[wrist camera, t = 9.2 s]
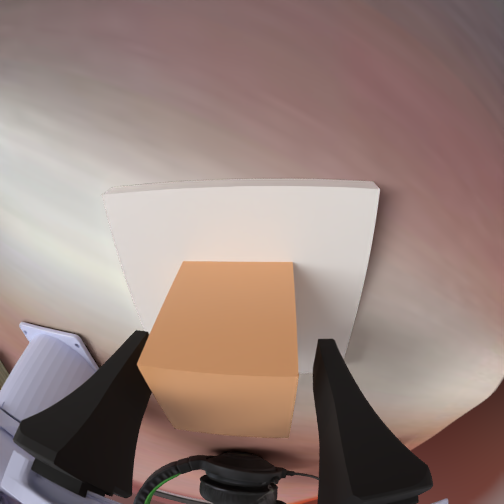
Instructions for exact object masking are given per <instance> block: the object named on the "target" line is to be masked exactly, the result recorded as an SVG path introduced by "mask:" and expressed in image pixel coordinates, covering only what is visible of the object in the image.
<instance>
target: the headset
mask: <svg viewBox="0 0 504 504" xmlns="http://www.w3.org/2000/svg"><path fill="white" fill-rule="evenodd" d="M198 469H202V470H205V471H206V474H207V475H204V476H202V477H201V478H200V481H201V483H200V494H201V496H202V497H203V498H204V499H205V500H207V501H209V502H211V503H213V504H286V503H285V502H282V501H279V500H277V489H278V487H277V486H276V485H275V484H278V482H279V480H280V479H281V478H286V475H290V476H293V475H301V476H308V477H312V478H315V479H317V480H319V478H318V477H316V476H313V475H308V474H303V473H295V472H294V471H287V470H286V469H284V468H280V467H275V466H273V465H271V464H270V463H269V462H267V461H265V460H264V459H262V458H261V457H258V456H257V455H254V454H249V453H241V452H228V453H224V454H222V455H218V456H203V455H196V456H190V457H189V458H184V459H181V460H178V461H175V462H172V463H169V464H167V465H165V466H163V467H161V468H159V469H158V470H156V471H155V472H154V473H153V474H152V475H151V476H150V477H149V478H148V479H147V480H146V481H145V483H144V484H143V486H142V487H141V489H140V490H139V492H138V494H137V496H136V497H135V500H134V504H150V501H151V499H152V496H153V494H154V493H155V491H156V490H157V489H158V488H159V487H160V486H162V485H163V484H164V483H166V482H167V481H169V480H171V479H173V478H175V477H177V476H179V475H180V474H184V473H187V472H190V471H192V470H198ZM272 482H273V483H272Z"/></svg>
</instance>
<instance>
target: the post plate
mask: <svg viewBox="0 0 504 504" xmlns="http://www.w3.org/2000/svg"><path fill="white" fill-rule="evenodd" d="M379 194H380V189H379V187H378V186H377V185H376V184H375V183H374V182H373V181H356V180H333V179H221V180H197V181H180V182H165V183H152V184H140V185H129V186H119V187H112V188H110V189H109V190H108V191H106V192H105V193H104V194H102V198H103V202H104V206H105V210H106V214H107V218H108V222H109V226H110V230H111V233H112V237H113V241H114V244H115V247H116V251H117V254H118V257H119V261H120V264H121V267H122V270H123V273H124V276H125V279H126V282H127V285H128V288H129V291H130V294H131V297H132V300H133V302H134V305H135V308H136V311H137V313H138V316H139V318H140V321H141V324H142V326H143V329H144V331H146V332H148V333H149V334H150V332H151V330H152V327H153V325H154V323H155V321H156V318H157V316H158V314H159V312H160V309H161V307H162V305H163V303H164V301H165V298H166V296H167V294H168V292H169V290H170V288H171V286H172V283H173V281H174V279H175V277H176V275H177V273H178V271H179V269H180V267H181V265H182V262H183V261H217V262H293V273H294V288H295V304H296V323H297V344H298V371H299V373H313V364H314V359H315V354H316V348H317V343H318V339H334V340H335V342H336V344H337V347H338V349H339V351H340V353H341V356H342V358H343V360H344V357H345V354H346V350H347V347H348V344H349V340H350V337H351V333H352V329H353V326H354V322H355V318H356V314H357V310H358V306H359V302H360V298H361V294H362V289H363V285H364V280H365V276H366V271H367V266H368V261H369V256H370V251H371V245H372V240H373V234H374V228H375V222H376V215H377V209H378V201H379Z"/></svg>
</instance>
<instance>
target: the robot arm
mask: <svg viewBox="0 0 504 504" xmlns="http://www.w3.org/2000/svg"><path fill="white" fill-rule="evenodd" d="M20 328H21V330H22V331H23V333H24V334H25V336H26V337H27V339H28V340H29V342H30V343H29V345H28V346H27V348H26V349H25V351H24V352H23V354H22V355H21V357H20V358H19V360H18V362H17V363H16V365H15V366H14V368H13V370H12V371H11V373H10V375H9V376H8V378H7V380H6V381H5V383H4V385H3V386H2V388H1V390H0V504H122V503H119V502H116V501H113V500H111V499H108V498H105V497H104V496H105V494H106V495H109V496H113V494H115V495H118V496H120V497H124V498H128V497H130V496H131V495H132V477H133V466H134V457H135V450H136V444H137V439H138V434H139V429H140V425H141V421H142V418H143V415H144V412H145V409H146V407H147V404H148V401H149V398H150V395H151V392H152V391H151V390H150V388H149V386H148V384H147V383H146V381H145V379H144V377H143V375H142V373H141V372H140V370H139V368H138V366H137V363H138V360H139V358H140V355H141V353H142V351H143V348H144V346H145V344H146V341H147V339H148V337H149V333H148V332H146V331H138V330H136V331H135V332H134V333H133V334H132V335H131V336H130V337H129V338H128V339H127V340H126V341H125V342H124V343H123V345H122V346H121V347H120V348H119V349H118V350H117V351H116V352H115V353H114V354H113V355H112V356H111V357H110V358H109V359H108V360H107V361H106V362H105V364H104V365H103V366H102V367H101V368H99V367H98V366H97V364H96V363H95V361H94V360H93V358H92V356H91V355H90V353H89V351H88V350H87V348H86V346H85V345H84V343H83V341H82V340H81V338H80V337H79V336H78V335H76V334H72V333H67V332H62V331H58V330H53V329H49V328H45V327H41V326H37V325H33V324H29V323H25V322H21V323H20ZM313 392H314V400H315V407H316V415H317V423H318V431H319V443H320V460H319V490H318V504H416V503H418V495H420V494H422V493H424V492H426V491H428V490H429V489H431V488H432V486H433V481H432V476H431V473H430V470H429V468H428V466H427V465H426V464H425V463H424V462H423V461H421V460H420V459H419V458H418V457H417V456H415V455H414V454H413V453H412V452H411V451H410V450H409V449H408V448H407V447H406V446H405V445H403V444H402V443H401V442H400V440H399V439H398V438H397V437H396V436H395V435H394V434H393V433H392V432H391V431H390V430H389V429H388V428H387V426H386V425H385V424H384V423H383V421H382V420H381V419H380V418H379V416H378V415H377V414H376V413H375V411H374V410H373V408H372V407H371V406H370V404H369V403H368V401H367V400H366V398H365V397H364V395H363V394H362V392H361V391H360V389H359V387H358V386H357V384H356V382H355V380H354V379H353V377H352V375H351V373H350V371H349V370H348V368H347V366H346V364H345V362H344V360H343V358H342V356H341V353H340V351H339V349H338V347H337V344H336V342H335V340H334V339H318V343H317V348H316V354H315V359H314V364H313ZM432 504H448V499H443V500H440V501H438V502H435V503H432Z"/></svg>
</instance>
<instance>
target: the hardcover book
mask: <svg viewBox="0 0 504 504" xmlns="http://www.w3.org/2000/svg"><path fill="white" fill-rule="evenodd" d="M8 376H9V373H8V372H7V370H6V369H5V367H4V365H3V364H2V362H1V360H0V390H1V388H2V386H3V385H4V383H5V381H6V380H7V378H8Z"/></svg>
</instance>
